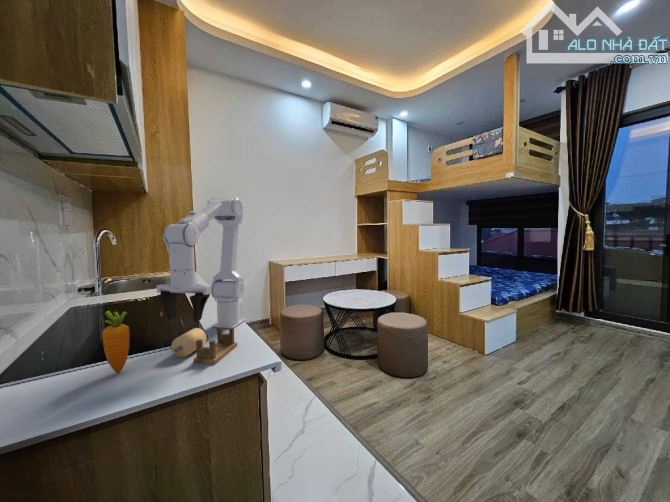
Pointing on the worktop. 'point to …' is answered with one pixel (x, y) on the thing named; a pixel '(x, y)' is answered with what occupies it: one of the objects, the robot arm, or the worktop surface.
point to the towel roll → (187, 342)
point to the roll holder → (215, 347)
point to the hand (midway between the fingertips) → (185, 319)
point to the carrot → (116, 341)
